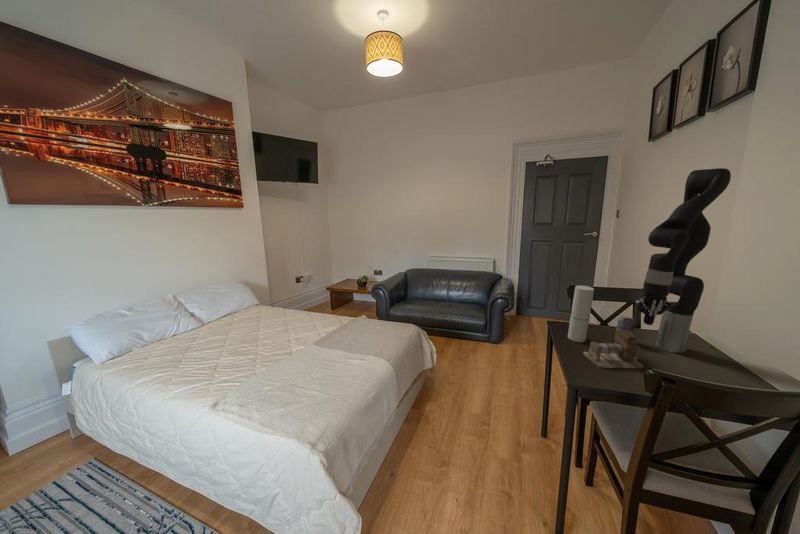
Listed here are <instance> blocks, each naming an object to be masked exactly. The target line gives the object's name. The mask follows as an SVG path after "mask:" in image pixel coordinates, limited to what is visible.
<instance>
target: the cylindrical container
mask: <svg viewBox="0 0 800 534" xmlns="http://www.w3.org/2000/svg"><path fill="white" fill-rule="evenodd" d="M594 292H595V289H594V288H593V286H592V287H591V286H587V285H575V287H574V292H573V301H572V307H571V314H570V319H569V326H568V333H567V338H568V339H569V340H570V341H573V342H577V343H584V342H586V341H587V340H586V339H587V334H588V328H589V327H588V326H589V322H590V317H591V316H590V314H591V309H592V304H593V297H594Z"/></svg>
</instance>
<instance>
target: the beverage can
mask: <svg viewBox="0 0 800 534" xmlns="http://www.w3.org/2000/svg"><path fill="white" fill-rule="evenodd" d="M635 323H636V322H635V318H634V317H631V316H627V315H619V317H617V323H616V329H615V335H614V338H615V337H616V332H617V330H623V331H627V332H629V333H631V334H633V335H634V328H635Z"/></svg>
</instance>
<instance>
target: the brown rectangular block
mask: <svg viewBox="0 0 800 534" xmlns="http://www.w3.org/2000/svg"><path fill="white" fill-rule="evenodd" d="M615 334H616V337H615V336H614V343H613V344H621V345H622V346H624V349H623V353H615V354H617V355H618V356H619V357H621V358H622V359H624V360H633V357H634V352H635V348H636V345H637V343H638V336H636V335H634V333H633V334H631V333H629V332H627V331H623V330H617V332H616V331H615Z"/></svg>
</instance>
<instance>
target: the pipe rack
mask: <svg viewBox="0 0 800 534" xmlns="http://www.w3.org/2000/svg"><path fill="white" fill-rule="evenodd" d="M623 349H624V346H622V345H621V344H614V343H607V342H602V343H600V342H596V341H590V342H589V349H588V351H583V354H582V355H584V357H586V358H587V359H588V360H589V361H591V362H592V363H593V364H595V365H596V366H597V367H598V368H602V369H604V368H605V369H606V368H608V369H609V368H610V369H614V368H615V369H618V368H619V369H644V368H645V365H644V364H643V363H640V362H639V357H640V351H641V346H639V345H637V344H636V348H635V352H634V357H633V360H624V359H622V358H621V357H619V356H618V355H617V354H615V353H623Z"/></svg>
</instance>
